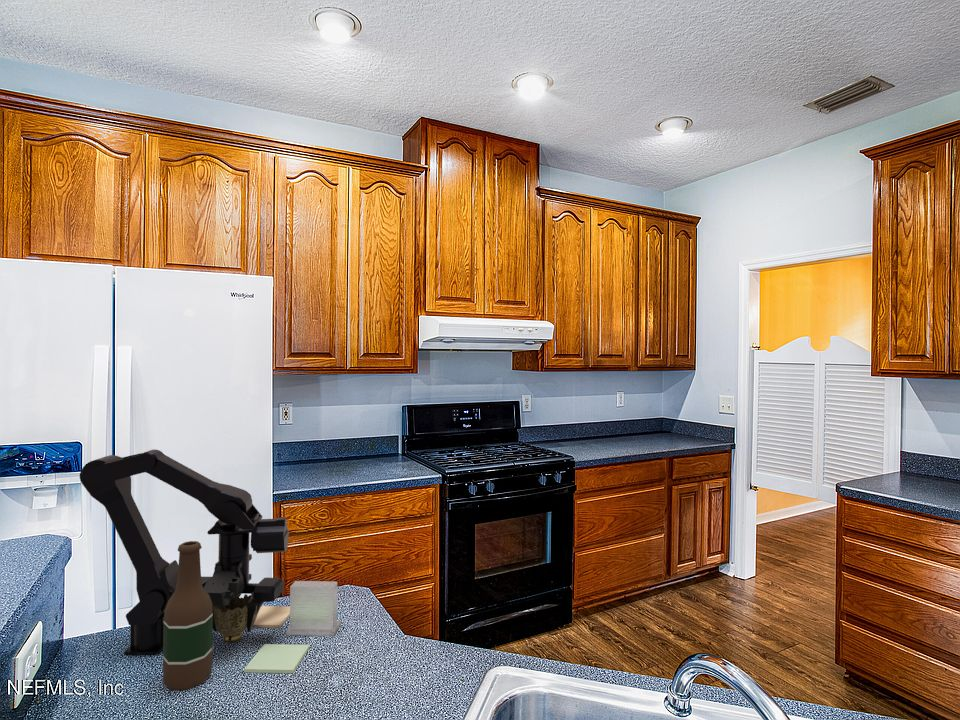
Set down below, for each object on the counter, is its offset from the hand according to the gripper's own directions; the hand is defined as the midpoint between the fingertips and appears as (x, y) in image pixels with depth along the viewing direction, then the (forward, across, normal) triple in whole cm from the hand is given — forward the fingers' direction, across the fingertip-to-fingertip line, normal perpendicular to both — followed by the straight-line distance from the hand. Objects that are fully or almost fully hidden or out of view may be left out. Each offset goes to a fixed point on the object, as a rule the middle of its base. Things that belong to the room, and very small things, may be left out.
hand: (232, 631), depth 111 cm
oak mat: (+2, +3, +10) cm, 11 cm away
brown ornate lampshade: (+2, 0, 0) cm, 2 cm away
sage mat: (+2, +12, -7) cm, 14 cm away
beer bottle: (+2, -2, -14) cm, 14 cm away
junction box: (+2, +15, +5) cm, 16 cm away
